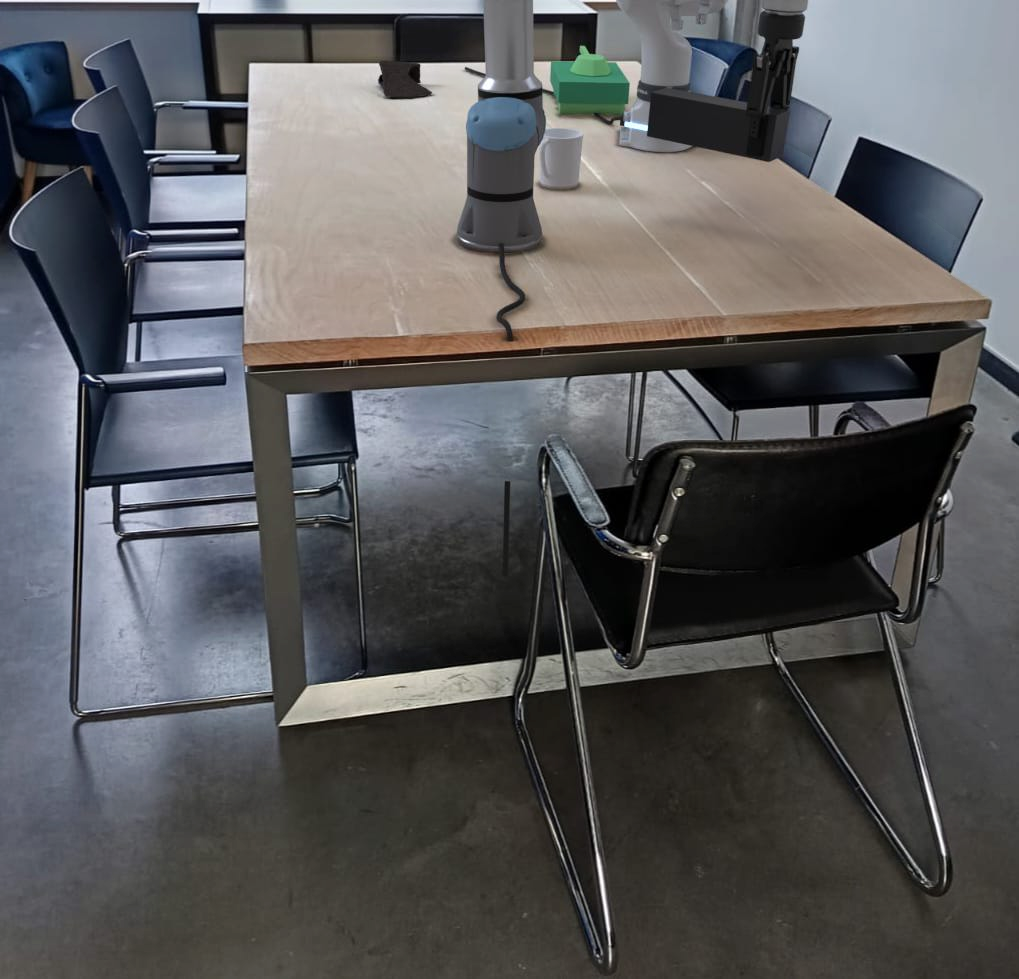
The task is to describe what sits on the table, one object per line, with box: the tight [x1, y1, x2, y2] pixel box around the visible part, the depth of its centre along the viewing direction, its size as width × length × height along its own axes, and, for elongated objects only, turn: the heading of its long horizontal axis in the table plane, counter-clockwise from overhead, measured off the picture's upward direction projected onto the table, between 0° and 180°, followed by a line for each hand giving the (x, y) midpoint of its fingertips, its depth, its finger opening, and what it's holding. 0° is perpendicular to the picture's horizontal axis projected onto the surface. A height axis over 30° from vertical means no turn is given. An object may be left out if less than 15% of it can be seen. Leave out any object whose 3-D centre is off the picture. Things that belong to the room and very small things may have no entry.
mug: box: [538, 127, 584, 190], centre depth 223 cm, size 11×9×10 cm
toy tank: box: [549, 45, 631, 116], centre depth 289 cm, size 18×12×35 cm
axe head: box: [377, 59, 433, 99], centre depth 299 cm, size 18×8×15 cm
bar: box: [647, 88, 791, 163], centre depth 198 cm, size 25×6×8 cm, turn 53°
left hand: (761, 151), depth 195 cm, fingers closed on bar, 6 cm apart
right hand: (688, 27), depth 208 cm, fingers open, 8 cm apart
